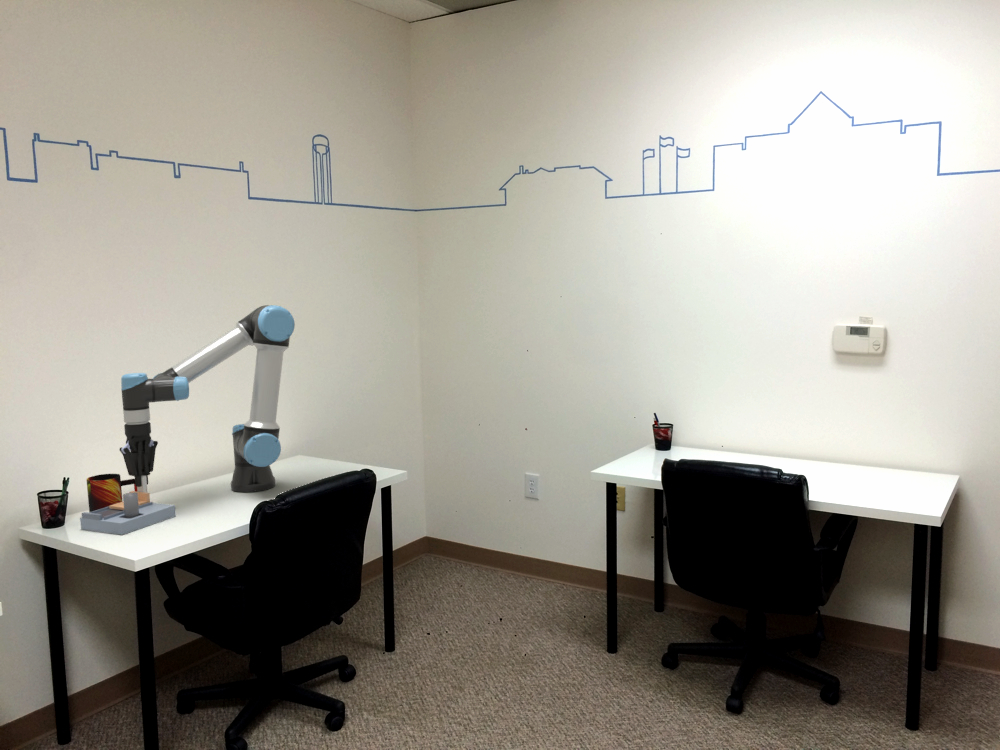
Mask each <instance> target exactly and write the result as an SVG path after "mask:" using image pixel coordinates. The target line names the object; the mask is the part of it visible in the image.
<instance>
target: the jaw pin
mask: <svg viewBox="0 0 1000 750" xmlns="http://www.w3.org/2000/svg"><path fill="white" fill-rule="evenodd" d="M122 502H124V515H125V518H129V519H131V518H134V517H137V516H139V504H138V493H135V492H133V493H129V492H127V493H122Z"/></svg>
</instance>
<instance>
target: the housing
mask: <svg viewBox="0 0 1000 750" xmlns="http://www.w3.org/2000/svg"><path fill="white" fill-rule="evenodd" d="M176 515H177V514H176V505H175V504H166V503H159V502H153V501H150V502H149V503H146V504H143V505H140V506H139V516H137V517H134V518H131V519H129V518H125V515H124V510H118V509H110V508H109V506H108V507H105V508H102V509H99V510H95V511H92V512H87V511H86V512H85V511H83V512H81V517H80V519H79V520H80V521H79V522H80V529H81V530H83V531H89V532H90V531H91V532H99V533H104V534H111V535H120V536H124V535H126V534H129V533H132V532H135V531H138V530H141V529H143V528H146V527H150V526H152V525H154V524H157V523H161V522H163V521H166V520H169V519H171V518H175V517H176Z"/></svg>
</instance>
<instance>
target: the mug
mask: <svg viewBox="0 0 1000 750" xmlns="http://www.w3.org/2000/svg"><path fill="white" fill-rule="evenodd" d="M121 479H122V477H121V474H120V473H103V474H95V475H92V476H89V477H87V478H86V479H85V480H86V488H87V498H88V499H87V501H88V511H89V512H92V511H95V510H99V509H102V508H105V507H108V506H110V505H113V504H117V503H120V502H123V493H122V487H124V486H125V487H126V486H130V485H133V488H134V489H133V491H136V492H137V487H136V485H135V478H129V479H122V480H121ZM89 512H88V513H89Z"/></svg>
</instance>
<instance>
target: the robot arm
mask: <svg viewBox="0 0 1000 750" xmlns="http://www.w3.org/2000/svg"><path fill="white" fill-rule="evenodd" d="M295 322H296V321H295V319H294V316H293V314H292V313H291V312H290V311H289V310H288V309H287V308H285V307H283V306H281V305H275V304H274V305H272V304H271V305H269V304H268V305H261V306H259V307H257V308H254V310H253V311H251V312H250V313H249V314H247V315H246V316H245V317H243V318H242V319H240V320H239V321H237V322H235V323H236V324H235V327H234V328H231V329H230V330H229V331H227V332H225V333H224V334H222V335H220V336H218V337H217V338H216V339H214V340H213V341H211V342H209V343H208V344H206V345H205V346H203V347H201V348H200V349H198V350H196V351H195V352H194V353H192V354H190V355H189V356H187V357H186V358H184V359H182V360H180V361H178V363H176V364H175V365H173V366H171V367H170V368H168V369H166V370H165V371H163V372H160V373H158V374H156V375H154V376H153V377H152V378H149V377H148V374H147V373H145V372H133V373H131V372H129V373H125V374H123V375H122V376H121V380H120V382H121V398H122V412H123V413H122V414H123V422H124V423H125V424H124V426H123V427H124V428H123V429H124V435H125V437H126V440H125V445H123V447H119V452H120V453H121V454H122V458H123V460H124V464H125V468H126V471H127V475H128V476H131V477H134V479H135V485H136V487H137V492H146V493H149V492H148V485H149V476H150V475H151V473H152V472H153V471H154V464H155V459H156V456H155V455H156V449H157V447H158V444H159V441H158V440H154V439H152V436H151V433H152V425H151V422H150V421H151V413H150V403H157V402H158V403H159V402H175V401H177V402H178V401H183V400H187V399H188V398H189V397H190V386H189V383H191V382H193V381H194V380H196V379H197V378H199V377H200V376H201V377H202V375H204V374H206V373H207V372H209V371H210V370H213V368H215V367H216V366H218V365H220V364H221V363H223V362H224V361H226V360H228V359H229V358H231V357H232V356H234V355H235V354H237V353H239V352H240V351H241V350H243V349H245V348H247V347H248V346H254V347H255V348H256V356H255V358H256V359H255V367H254V374H253V375H254V377H253V386H252V394H251V402H250V413H249V419H248V421H246V422H245V423H240V424H239V423H238V424H235V425H233V427H232V432H231V435H232V443H233V460H234V469H233V473H232V474H233V475H232V479H231V481H230V490H231V491H233V492H236V493H255V492H263V491H266V490H269V489H272V488H274V487H275V486H276V478H275V476H274V475H273V470H272V468H271V465H272V464H274V463H275V462H277V460H278V459H279V458H280V455H281V452H282V446H281V442H280V440H279V437H280V428H281V427H280V425H279V424H278V423H277V415H278V406H279V405H278V403H279V395H280V387H281V386H280V385H281V377H282V369H283V368H282V367H283V360H284V352H285V351H286V350H288V349H289V346H290V339H291V336H292V335H293V333H294V330H295V325H296V324H295Z"/></svg>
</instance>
